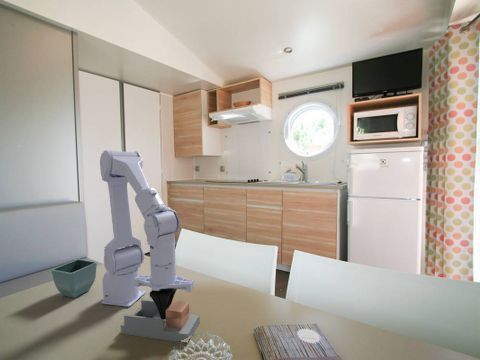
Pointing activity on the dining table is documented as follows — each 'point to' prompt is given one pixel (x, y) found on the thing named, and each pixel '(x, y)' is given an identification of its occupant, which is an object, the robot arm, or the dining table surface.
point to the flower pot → (74, 277)
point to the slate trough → (156, 324)
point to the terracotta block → (177, 314)
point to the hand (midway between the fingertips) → (165, 316)
